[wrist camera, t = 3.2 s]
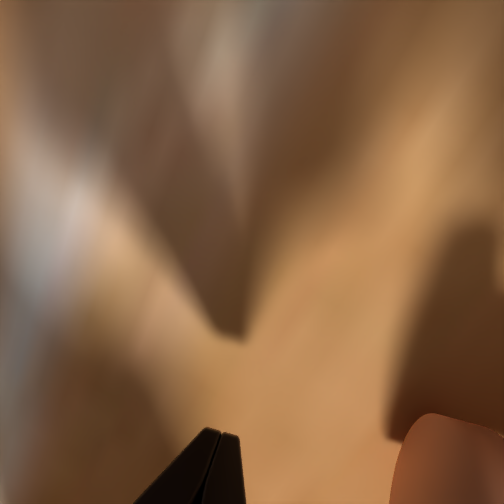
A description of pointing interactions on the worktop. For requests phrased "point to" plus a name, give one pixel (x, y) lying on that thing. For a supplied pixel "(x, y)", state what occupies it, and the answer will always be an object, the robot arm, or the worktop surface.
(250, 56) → the worktop surface
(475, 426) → the pin
